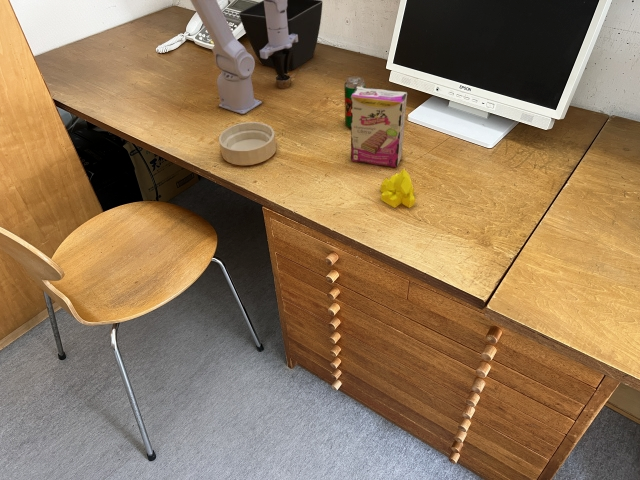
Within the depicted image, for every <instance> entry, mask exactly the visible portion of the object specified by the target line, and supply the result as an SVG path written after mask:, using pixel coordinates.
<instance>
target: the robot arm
mask: <svg viewBox="0 0 640 480" xmlns="http://www.w3.org/2000/svg"><path fill="white" fill-rule="evenodd" d="M190 3H191V4H192V6H193V8H194V10H195V12H196V14H197V15H198V17H199V19H200V20H201V23H202V25H203V26H204V28H205V30H206V31H207V34H208V35H209V37H210V39H211V41H212V43H213V47H212V49H211V52H212V53H213V56H214V62H215V65H216V67H217V68H218V70H221V72H220V73H219V74H218V76H217V80H216V86H217V87H216V88H217V91H218V96H219V101H220V103H219V104H218V107H219V108H223V109H226V110H229V111H231V112H235V113H237V114H241V115H245V114H247V113H248V112H250V111H252V110H253V109H255V108H256V107H258V106H260V105H261V104H262V103H263V101H261V100H259V99H256V98H255V94H254V93H255V92H254V88H253V82H252V76H253V73H254V71H255V67H256V63H255V61H256V60H255V58H254V56H253V55H252V54H251V53H249V52H248V51H247V49H246V47H245V46H244V45H243V44H242V43H241V42H240V41H239V40H237V39H236V37H235V35H234V33H233V31H232V29H231V27H230V25H229V22H228V21H227V18H226V17H225V15H224V13H223V11H222V9H221V7H220V4H219V2H218V1H217V0H190ZM264 7H265V15H266V23H267V31H268V40H269V43H268V44H267V45H266V46H265V47H264V48H263V49H262V50H260V57H261V58H264V59H267V58H268V57H269V59H270V60H271V62H272V63H273V65H274V67H273V68H274V70H275V72H276V73H275V74H276V76H282V77H283V76H284V73H285V75H289V74H288V73H289V70H288V69H289V63H290V59H291V56H292V53H293V51H294V50H293V48H292V43H294V42H295V43H296V42H298V35H296V34H291V35H289V34H288V23H287V13H286V9H287V0H264ZM281 49H282V53H281V52H280V50H281Z"/></svg>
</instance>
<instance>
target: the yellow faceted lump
mask: <svg viewBox="0 0 640 480" xmlns="http://www.w3.org/2000/svg"><path fill="white" fill-rule="evenodd" d="M380 192H381V194H380V200H381V201H382V202H384V203H385V204H387V205H388V206H390V207H392V208H394V209H396V208H397V207H398V206H400V205H403V206H405V207H407V208H408V209H410V208H412V207H413V206H415V205H416V198H415V196H414V194H415V193H414V192H415V189H414V187H413V182H412V180H411V175H410V174H409V173H408V172H407V170H406V169H405V168H403V169H402V170H401V171H399V173H395V174H394V175H391V176H390V178H389V179H388V177H385V178H384V180H383V181H382V183H381V184H380Z"/></svg>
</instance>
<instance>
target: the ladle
mask: <svg viewBox="0 0 640 480" xmlns="http://www.w3.org/2000/svg"><path fill="white" fill-rule="evenodd" d="M280 52H281V53H282V49H281V50H280ZM275 85H276V88H278V89H288V88H290V87H291V86H292V79H291V76H290V75H289V74H285V73H284V76H283V77H282V76H278V75H276V77H275Z"/></svg>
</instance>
